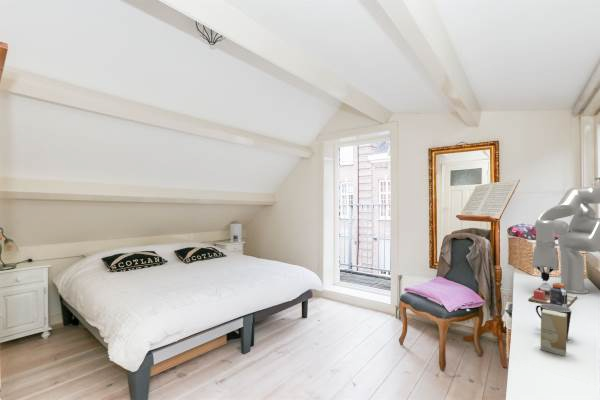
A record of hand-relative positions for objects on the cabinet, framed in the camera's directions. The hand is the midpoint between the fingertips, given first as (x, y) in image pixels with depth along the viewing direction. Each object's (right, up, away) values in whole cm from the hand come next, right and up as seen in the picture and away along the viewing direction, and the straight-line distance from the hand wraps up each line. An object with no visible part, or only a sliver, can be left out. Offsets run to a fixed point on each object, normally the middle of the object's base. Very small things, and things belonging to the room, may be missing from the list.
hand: (545, 280), depth 159 cm
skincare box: (-45, -7, -61) cm, 76 cm away
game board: (-2, -8, -7) cm, 10 cm away
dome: (0, -6, 0) cm, 6 cm away
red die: (-9, -8, -8) cm, 15 cm away
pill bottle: (-11, -8, -21) cm, 25 cm away
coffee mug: (-35, -7, -48) cm, 60 cm away
